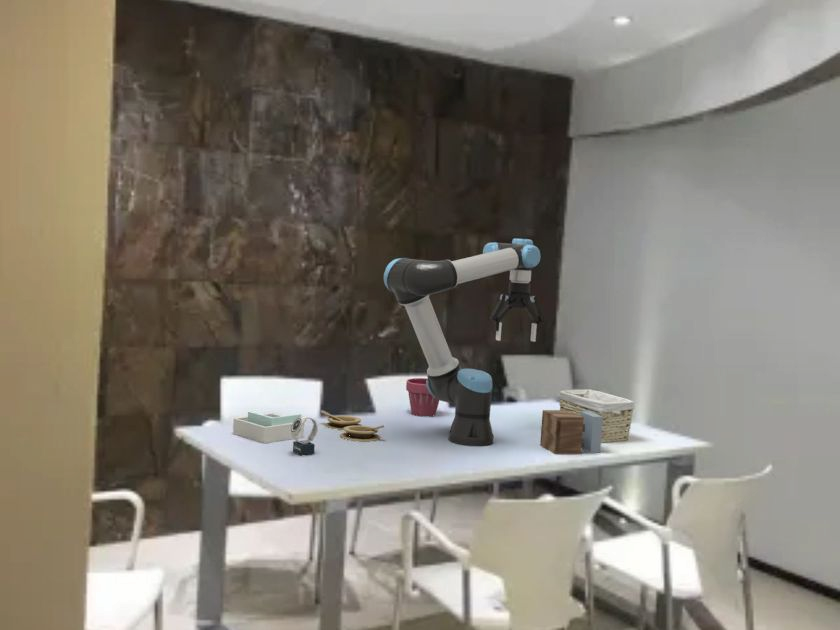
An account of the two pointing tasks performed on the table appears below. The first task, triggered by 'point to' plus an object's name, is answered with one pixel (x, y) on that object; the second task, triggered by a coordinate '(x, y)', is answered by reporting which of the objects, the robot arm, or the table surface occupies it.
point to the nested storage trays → (263, 430)
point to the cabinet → (562, 432)
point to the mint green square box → (271, 419)
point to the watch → (306, 445)
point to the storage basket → (601, 411)
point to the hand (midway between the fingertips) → (515, 340)
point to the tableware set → (352, 428)
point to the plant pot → (421, 398)
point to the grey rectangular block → (592, 431)
